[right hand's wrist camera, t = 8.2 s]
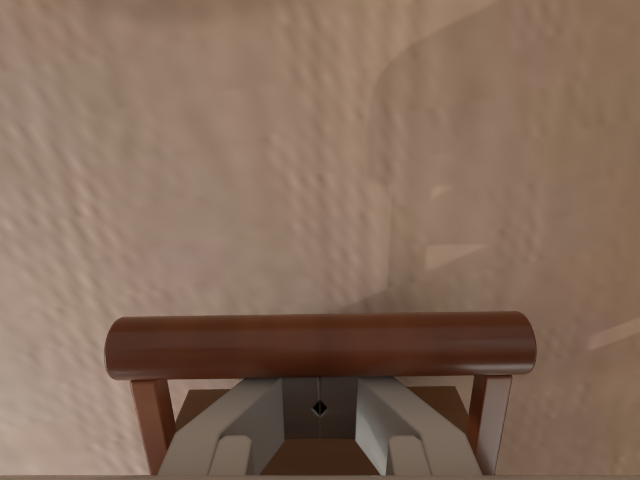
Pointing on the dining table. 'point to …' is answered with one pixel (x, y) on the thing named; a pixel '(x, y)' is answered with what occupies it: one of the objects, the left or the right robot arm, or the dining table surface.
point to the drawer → (323, 370)
